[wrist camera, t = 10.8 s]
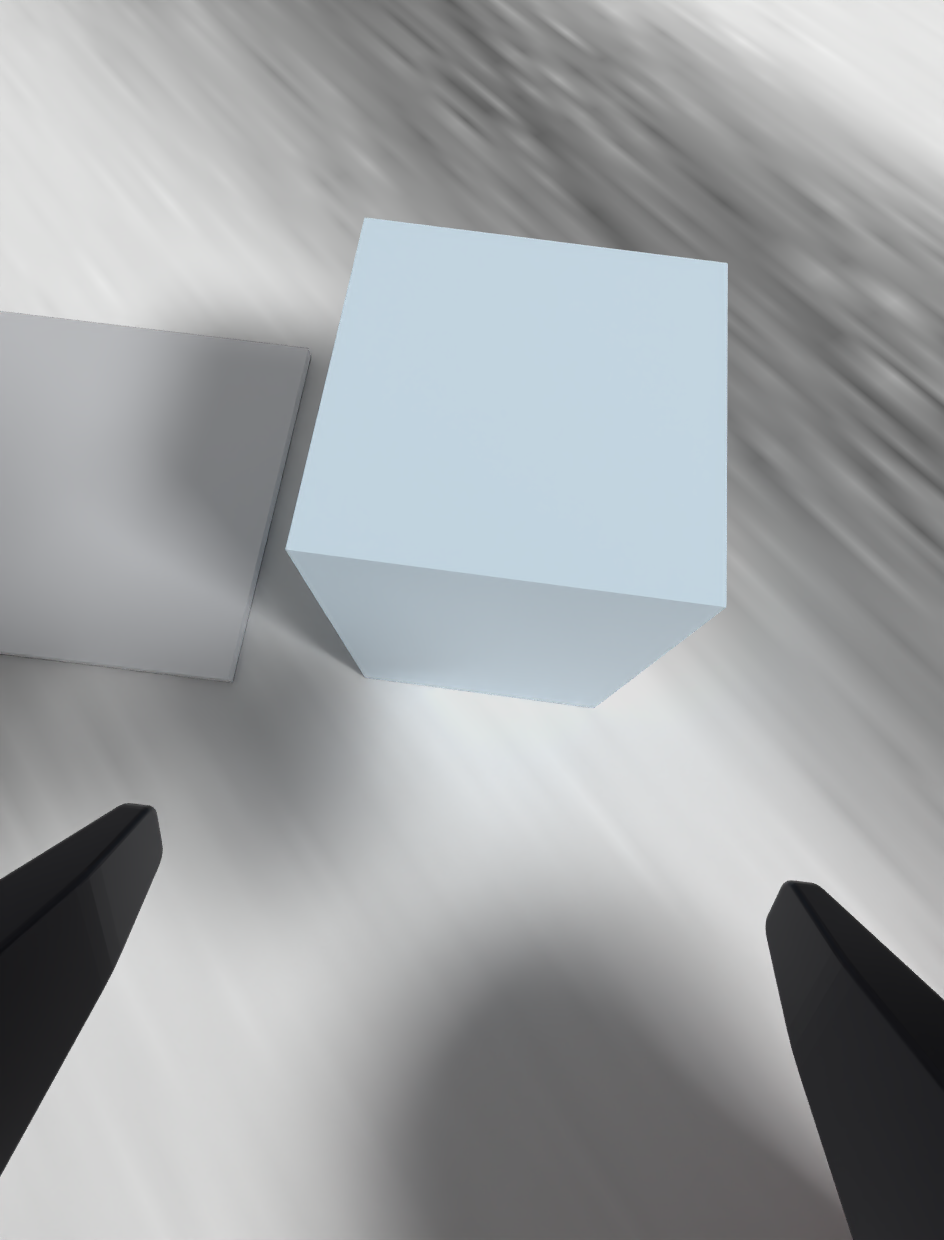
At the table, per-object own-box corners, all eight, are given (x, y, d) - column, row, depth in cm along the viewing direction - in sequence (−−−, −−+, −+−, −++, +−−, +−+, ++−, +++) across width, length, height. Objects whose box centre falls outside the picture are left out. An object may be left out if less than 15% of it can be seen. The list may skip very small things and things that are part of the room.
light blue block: (594, 707, 19) (726, 607, 10) (365, 677, 19) (285, 549, 10) (608, 502, 21) (727, 263, 12) (402, 475, 21) (364, 217, 12)
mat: (232, 682, 19) (227, 679, 18) (-162, 633, 19) (-175, 630, 18) (310, 356, 22) (308, 348, 22) (-20, 316, 22) (-28, 307, 22)
